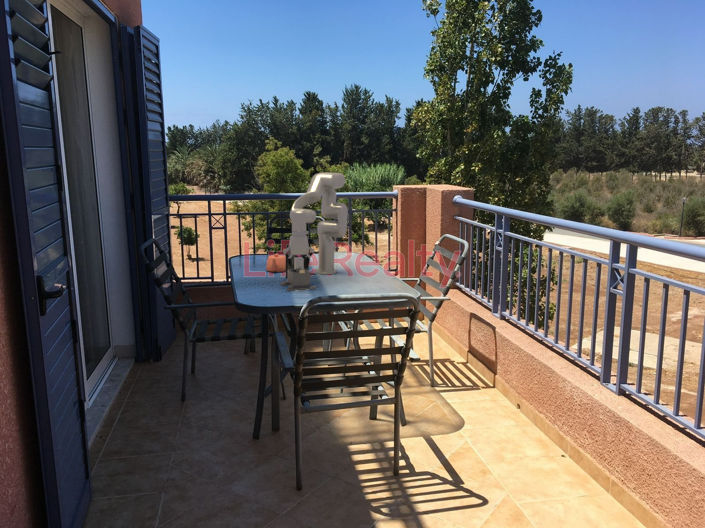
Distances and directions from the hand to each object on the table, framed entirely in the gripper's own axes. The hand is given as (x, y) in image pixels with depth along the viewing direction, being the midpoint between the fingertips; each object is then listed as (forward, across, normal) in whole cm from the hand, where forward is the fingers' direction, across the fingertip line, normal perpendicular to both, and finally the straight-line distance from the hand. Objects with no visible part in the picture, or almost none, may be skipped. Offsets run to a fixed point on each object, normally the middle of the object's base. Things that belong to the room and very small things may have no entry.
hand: (298, 265), depth 303 cm
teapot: (+12, +2, -41) cm, 43 cm away
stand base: (+12, 0, 0) cm, 12 cm away
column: (+12, 0, 0) cm, 12 cm away
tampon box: (+12, -5, -20) cm, 24 cm away
